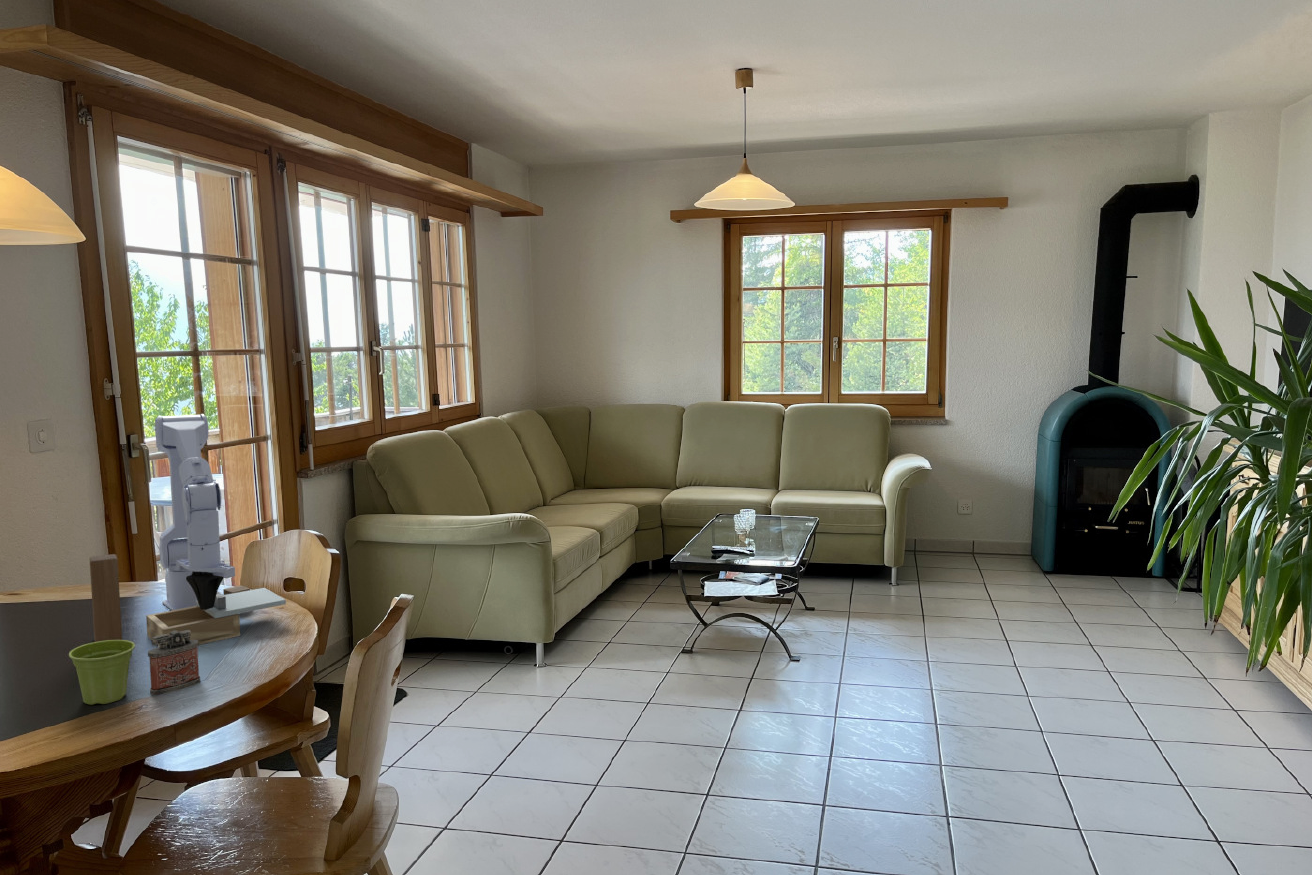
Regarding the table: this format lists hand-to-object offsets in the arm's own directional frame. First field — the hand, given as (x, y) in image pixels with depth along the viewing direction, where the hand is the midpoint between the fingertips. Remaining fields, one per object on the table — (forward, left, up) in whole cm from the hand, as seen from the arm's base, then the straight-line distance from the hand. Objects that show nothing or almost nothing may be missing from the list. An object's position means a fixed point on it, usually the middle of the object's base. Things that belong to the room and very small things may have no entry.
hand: (207, 608), depth 177 cm
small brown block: (-15, +11, -6) cm, 19 cm away
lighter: (+23, -12, -6) cm, 27 cm away
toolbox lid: (-3, +8, -1) cm, 8 cm away
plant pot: (+20, -22, -6) cm, 31 cm away
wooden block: (-10, -15, -6) cm, 20 cm away
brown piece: (-3, -2, -6) cm, 7 cm away
